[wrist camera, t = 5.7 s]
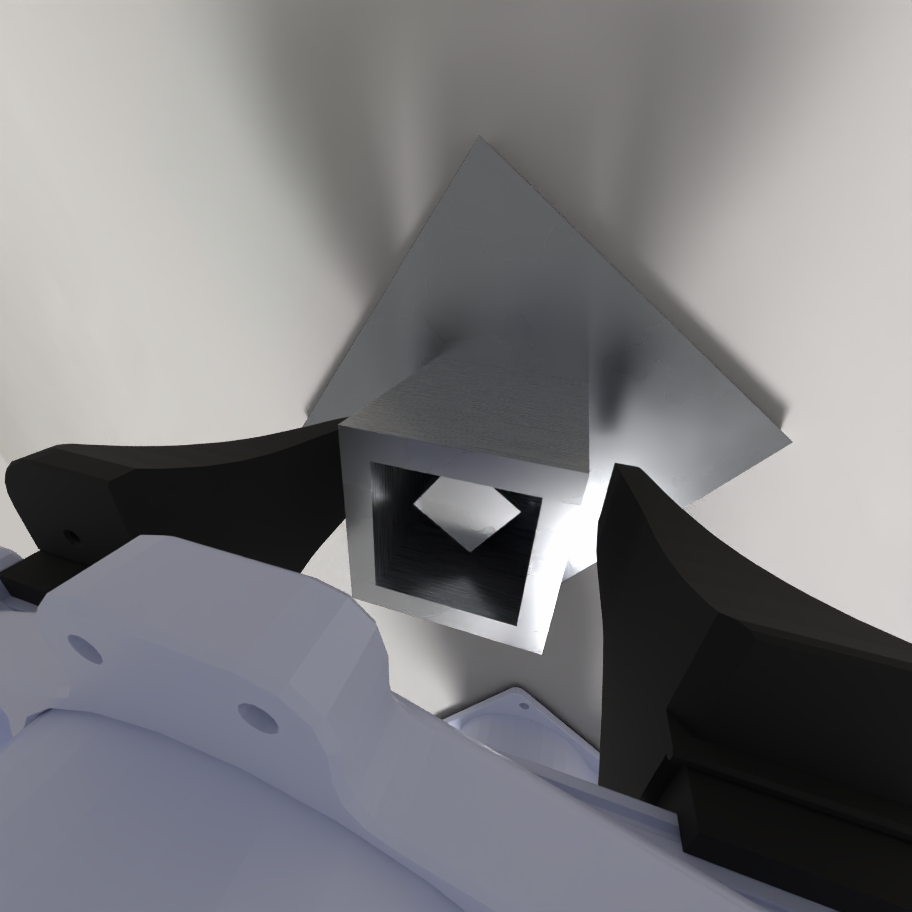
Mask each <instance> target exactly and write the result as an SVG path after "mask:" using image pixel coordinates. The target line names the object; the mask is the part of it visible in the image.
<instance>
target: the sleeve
mask: <svg viewBox="0 0 912 912" xmlns="http://www.w3.org/2000/svg"><path fill="white" fill-rule="evenodd" d="M338 433H339V445H340V457H341V468H342V480H343V492H344V504H345V516H346V528H347V539H348V551H349V563H350V575H351V587H352V598H355V599H359V600H362V601H365V602H369V603H372V604H375V605H379V606H382V607H385V608H389V609H392V610H395V611H398V612H402V613H405V614H408V615H412V616H415V617H418V618H422V619H425V620H428V621H431V622H435V623H438V624H441V625H445V626H448V627H451V628H455V629H458V630H461V631H465V632H468V633H471V634H474V635H478V636H481V637H484V638H488V639H491V640H494V641H498V642H501V643H504V644H508V645H511V646H514V647H517V648H521V649H524V650H527V651H531V652H534V653H537V654H541V655H542V653H543V649H544V645H545V641H546V637H547V633H548V630H549V626H550V622H551V618H552V614H553V611H554V607H555V603H556V599H557V595H558V592H559V588H560V584H561V580H562V576H563V573H564V569H565V565H566V561H567V557H568V554H569V550H570V546H571V542H572V538H573V535H574V531H575V527H576V523H577V519H578V516H579V512H580V508H581V504H582V500H583V497H584V493H585V489H586V485H587V481H588V478H589V474H590V469H589V381H587V380H580V379H573V378H566V377H559V376H552V375H545V374H538V373H531V372H524V371H517V370H510V369H503V368H496V367H489V366H482V365H475V364H468V363H461V362H454V361H447V360H440V359H434V360H432V361H431V362H429V363H428V364H427V365H425V366H424V367H422V368H421V369H419V370H418V371H416V372H415V373H413V374H412V375H410V376H409V377H407V378H406V379H404V380H403V381H401V382H400V383H399V384H397V385H396V386H394V387H393V388H391V389H390V390H388V391H387V392H385V393H384V394H382V395H381V396H379V397H378V398H376V399H375V400H374V401H372V402H371V403H369V404H368V405H366V406H365V407H363V408H362V409H360V410H359V411H357V412H356V413H354V414H353V415H351V416H350V417H348V418H347V419H346V420H344V421H343V422H341V423H340V424H338ZM433 475H437V476H442V477H447V478H451V479H456V480H461V481H465V482H470V483H475V484H479V485H484V486H489V487H493V488H498V489H503V490H508V491H512V492H517V493H522V494H526V495H525V498H524V502H523V506H522V510H521V512H520V513H519V514H518V515H517V516H515V517H514V518H513V519H511V520H510V521H509V522H508V523H506V524H505V525H504V526H503V527H501V528H500V529H499V530H498V531H496V532H495V533H494V534H492V535H491V536H490V537H489V538H487V539H486V540H485V541H484V542H482V543H481V544H480V545H479V546H477V547H476V548H475V549H474V550H472V551H471V552H469V551H468V550H467V549H465V548H464V547H463V546H462V545H461V544H460V543H458V542H457V541H456V540H455V539H454V538H453V537H451V536H450V535H449V534H448V533H447V532H446V531H444V530H443V529H442V528H441V527H440V526H439V525H437V524H436V523H435V522H434V521H433V520H432V519H430V518H429V517H428V516H427V515H426V514H425V513H423V512H422V511H421V510H420V509H419V508H417V507H416V506H415V505H414V502H415V501H416V500H417V498H418V497H419V495H420V494H421V492H422V491H423V490H424V488H425V487H426V485H427V484H428V482H429V481H430V480H431V478H432V477H433Z"/></svg>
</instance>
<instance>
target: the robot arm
mask: <svg viewBox="0 0 912 912" xmlns="http://www.w3.org/2000/svg"><path fill="white" fill-rule="evenodd" d="M347 418H348V417H344V418H339V419H335V420H330V421H326V422H322V423H318V424H314V425H310V426H306V427H302V428H298V429H293V430H289V431H284V432H280V433H275V434H271V435H266V436H261V437H255V438H249V439H242V440H235V441H228V442H218V443H206V444H194V445H180V446H108V445H84V444H62V445H56V446H53V447H50V448H47V449H44V450H42V451H39V452H36V453H34V454H31V455H28V456H26V457H23V458H20V459H17V460H15V461H12V462H11V463H10V465H9V466H8V468H7V470H6V474H5V484H6V488H7V492H8V494H9V497H10V499H11V501H12V503H13V505H14V507H15V509H16V510H17V512H18V514H19V516H20V517H21V519H22V521H23V523H24V524H25V526H26V528H27V530H28V531H29V533H30V535H31V537H32V538H33V540H34V542H35V544H36V545H37V547H38V549H40V551H38V552H36V553H34V554H32V555H30V556H29V557H27V558H25V559H22V558H21V557H20V556H19V555H18V554H17V553H15V552H14V551H12V550H10V549H7V548H4V547H1V546H0V912H912V644H911V643H909V642H907V641H904V640H902V639H900V638H898V637H896V636H893V635H891V634H889V633H887V632H884V631H882V630H880V629H878V628H875V627H873V626H871V625H869V624H866V623H864V622H862V621H860V620H857V619H855V618H853V617H851V616H849V615H847V614H845V613H843V612H841V611H839V610H837V609H835V608H833V607H831V606H829V605H827V604H825V603H824V602H822V601H820V600H818V599H816V598H814V597H812V596H810V595H808V594H806V593H804V592H803V591H801V590H799V589H797V588H795V587H793V586H792V585H790V584H788V583H786V582H784V581H783V580H781V579H779V578H778V577H776V576H774V575H773V574H771V573H769V572H768V571H766V570H765V569H763V568H761V567H760V566H758V565H756V564H755V563H753V562H752V561H750V560H748V559H747V558H745V557H744V556H742V555H741V554H739V553H738V552H737V551H735V550H734V549H732V548H731V547H730V546H728V545H727V544H725V543H724V542H723V541H721V540H720V539H718V538H717V537H716V536H714V535H713V534H712V533H710V532H709V531H708V530H707V529H705V528H704V527H703V526H702V525H701V524H699V523H698V522H697V521H696V520H695V519H694V518H692V517H691V516H690V515H689V514H688V513H687V512H685V511H684V510H683V509H682V508H681V507H680V506H679V505H678V504H677V503H676V502H675V501H674V500H673V499H672V498H670V497H669V496H668V495H667V494H666V493H665V492H664V491H663V490H662V489H661V488H660V487H659V486H658V485H657V484H656V483H655V482H654V481H653V480H652V479H651V478H650V477H649V476H648V475H647V474H646V473H645V472H644V471H643V470H642V469H641V468H640V467H637V466H631V465H626V464H620V463H615V464H614V467H613V471H612V474H611V478H610V481H609V485H608V488H607V492H606V495H605V499H604V502H603V506H602V509H601V513H600V516H599V519H598V524H597V541H596V558H597V569H598V580H599V590H600V600H601V610H602V620H603V686H602V717H601V738H600V753H599V752H598V751H597V750H596V749H594V748H593V747H592V746H591V745H590V744H588V743H587V742H586V741H585V740H584V739H582V738H581V737H580V736H579V735H578V734H576V733H575V732H574V731H573V730H571V729H570V728H569V727H568V726H567V725H565V724H564V723H563V722H562V721H561V720H559V719H558V718H557V717H556V716H555V715H553V714H552V713H551V712H550V711H548V710H547V709H546V708H545V707H544V706H542V705H541V704H540V703H539V702H538V701H536V700H535V699H534V698H533V697H532V696H530V695H529V694H528V693H527V692H525V691H524V690H523V689H521V688H518V687H513V688H510V689H508V690H506V691H504V692H502V693H499V694H497V695H495V696H493V697H491V698H488V699H486V700H484V701H482V702H480V703H478V704H475V705H473V706H471V707H469V708H467V709H465V710H462V711H460V712H458V713H456V714H454V715H452V716H449V717H447V718H445V719H443V720H441V719H440V718H438V717H436V716H434V715H433V714H431V713H429V712H428V711H426V710H424V709H422V708H421V707H419V706H417V705H416V704H414V703H412V702H410V701H409V700H407V699H405V698H404V697H402V696H400V695H398V694H397V693H395V692H393V691H391V690H390V685H389V663H388V654H387V651H386V649H385V646H384V643H383V641H382V638H381V635H380V632H379V630H378V627H377V625H376V622H375V620H374V619H373V618H372V617H371V616H370V615H369V614H368V613H367V612H366V611H365V610H364V609H363V608H362V607H361V606H360V605H359V604H358V603H357V602H356V601H355V600H354V599H353V598H352V597H351V596H350V595H349V594H347V593H345V592H343V591H341V590H339V589H337V588H335V587H333V586H331V585H329V584H327V583H325V582H323V581H321V580H319V579H317V578H314V577H311V576H307V575H304V574H300V573H301V572H302V570H303V569H304V567H305V566H306V564H307V563H308V562H309V560H310V559H311V557H312V556H313V555H314V554H315V552H316V551H317V550H318V549H319V547H320V546H321V545H322V544H323V543H324V542H325V541H326V539H327V538H328V537H329V536H330V535H331V534H332V533H333V532H334V530H335V529H336V528H337V527H338V526H339V525H340V524H341V523H342V522H343V520H344V519H345V518H346V516H345V504H344V492H343V480H342V468H341V457H340V445H339V433H338V424H340V423H341V422H343V421H344V420H346V419H347Z"/></svg>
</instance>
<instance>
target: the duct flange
mask: <svg viewBox="0 0 912 912" xmlns="http://www.w3.org/2000/svg"><path fill="white" fill-rule="evenodd" d="M434 359H440V360H447V361H454V362H461V363H468V364H475V365H482V366H489V367H496V368H503V369H510V370H517V371H524V372H531V373H538V374H545V375H552V376H559V377H566V378H573V379H580V380H587V381H589V469H590V474H589V478H588V481H587V485H586V489H585V493H584V497H583V500H582V504H581V508H580V512H579V516H578V519H577V523H576V527H575V531H574V535H573V538H572V542H571V546H570V550H569V554H568V557H567V561H566V565H565V569H564V573H563V576H562V580H561V583H562V582H563V581H565V580H567V579H568V578H570V577H572V576H573V575H575V574H577V573H578V572H580V571H581V570H583V569H585V568H586V567H588V566H590V565H591V564H593V563H595V562H596V561H597V558H596V541H597V524H598V519H599V516H600V513H601V509H602V506H603V502H604V499H605V495H606V492H607V488H608V485H609V481H610V478H611V474H612V471H613V467H614V464H615V463H620V464H626V465H631V466H637V467H640V468H641V469H642V470H643V471H644V472H645V473H646V474H647V475H648V476H649V477H650V478H651V479H652V480H653V481H654V482H655V483H656V484H657V485H658V486H659V487H660V488H661V489H662V490H663V491H664V492H665V493H666V494H667V495H668V496H669V497H670V498H672V499H673V500H674V501H675V502H676V503H677V504H678V505H679V506H680V507H681V508H682V509H684V508H685V507H687V506H689V505H690V504H692V503H693V502H695V501H697V500H698V499H700V498H702V497H703V496H705V495H707V494H708V493H710V492H712V491H713V490H715V489H717V488H718V487H720V486H721V485H723V484H725V483H726V482H728V481H730V480H731V479H733V478H735V477H736V476H738V475H740V474H741V473H743V472H745V471H746V470H748V469H749V468H751V467H753V466H754V465H756V464H758V463H759V462H761V461H763V460H764V459H766V458H768V457H769V456H771V455H773V454H774V453H776V452H777V451H779V450H781V449H782V448H784V447H786V446H787V445H789V444H791V443H792V441H791V440H790V439H789V438H788V437H787V436H786V435H785V434H784V433H783V432H782V431H781V430H780V429H779V428H778V427H777V426H776V425H775V424H774V423H773V422H772V421H771V420H770V419H769V418H768V417H767V416H766V415H765V414H764V413H763V412H762V411H761V410H760V409H758V408H757V407H756V406H755V405H754V404H753V403H752V402H751V401H750V400H749V399H748V398H747V397H746V396H745V395H744V394H743V393H742V392H741V391H740V390H739V389H738V388H737V387H736V386H735V385H734V384H733V383H732V382H731V381H730V380H729V379H728V378H727V377H726V376H725V375H724V374H723V373H722V372H721V371H720V370H719V369H718V368H717V367H716V366H715V365H714V364H713V363H711V362H710V361H709V360H708V359H707V358H706V357H705V356H704V355H703V354H702V353H701V352H700V351H699V350H698V349H697V348H696V347H695V346H694V345H693V344H692V343H691V342H690V341H689V340H688V339H687V338H686V337H685V336H684V335H683V334H682V333H681V332H680V331H679V330H678V329H677V328H676V327H675V326H674V325H673V324H672V323H671V322H670V321H669V320H668V319H667V318H666V317H664V316H663V315H662V314H661V313H660V312H659V311H658V310H657V309H656V308H655V307H654V306H653V305H652V304H651V303H650V302H649V301H648V300H647V299H646V298H645V297H644V296H643V295H642V294H641V293H640V292H639V291H638V290H637V289H636V288H635V287H634V286H633V285H632V284H631V283H630V282H629V281H628V280H627V279H626V278H625V277H624V276H623V275H622V274H621V273H620V272H618V271H617V270H616V269H615V268H614V267H613V266H612V265H611V264H610V263H609V262H608V261H607V260H606V259H605V258H604V257H603V256H602V255H601V254H600V253H599V252H598V251H597V250H596V249H595V248H594V247H593V246H592V245H591V244H590V243H589V242H588V241H587V240H586V239H585V238H584V237H583V236H582V235H581V234H580V233H579V232H578V231H577V230H576V229H575V228H574V227H573V226H571V225H570V224H569V223H568V222H567V221H566V220H565V219H564V218H563V217H562V216H561V215H560V214H559V213H558V212H557V211H556V210H555V209H554V208H553V207H552V206H551V205H550V204H549V203H548V202H547V201H546V200H545V199H544V198H543V197H542V196H541V195H540V194H539V193H538V192H537V191H536V190H535V189H534V188H533V187H532V186H531V185H530V184H529V183H528V182H527V181H526V180H524V179H523V178H522V177H521V176H520V175H519V174H518V173H517V172H516V171H515V170H514V169H513V168H512V167H511V166H510V165H509V164H508V163H507V162H506V161H505V160H504V159H503V158H502V157H501V156H500V155H499V154H498V153H497V152H496V151H495V150H494V149H493V148H492V147H491V146H490V145H489V144H488V143H487V142H486V141H485V140H484V139H483V138H482V137H481V136H479V137H478V139H477V141H476V142H475V144H474V146H473V147H472V149H471V150H470V152H469V154H468V155H467V157H466V159H465V160H464V162H463V164H462V165H461V167H460V169H459V170H458V172H457V174H456V175H455V177H454V178H453V180H452V182H451V183H450V185H449V187H448V188H447V190H446V192H445V193H444V195H443V197H442V198H441V200H440V201H439V203H438V205H437V206H436V208H435V210H434V211H433V213H432V215H431V216H430V218H429V220H428V221H427V223H426V225H425V226H424V228H423V229H422V231H421V233H420V234H419V236H418V238H417V239H416V241H415V243H414V244H413V246H412V248H411V249H410V251H409V252H408V254H407V256H406V257H405V259H404V261H403V262H402V264H401V266H400V267H399V269H398V271H397V272H396V274H395V276H394V277H393V279H392V280H391V282H390V284H389V285H388V287H387V289H386V290H385V292H384V294H383V295H382V297H381V299H380V300H379V302H378V303H377V305H376V307H375V308H374V310H373V312H372V313H371V315H370V317H369V318H368V320H367V322H366V323H365V325H364V326H363V328H362V330H361V331H360V333H359V335H358V336H357V338H356V340H355V341H354V343H353V345H352V346H351V348H350V350H349V351H348V353H347V354H346V356H345V358H344V359H343V361H342V363H341V364H340V366H339V368H338V369H337V371H336V373H335V374H334V376H333V377H332V379H331V381H330V382H329V384H328V386H327V387H326V389H325V391H324V392H323V394H322V396H321V397H320V399H319V401H318V402H317V404H316V405H315V407H314V409H313V410H312V412H311V414H310V415H309V417H308V419H307V420H306V422H305V424H304V425H303V427H306V426H310V425H314V424H318V423H322V422H326V421H330V420H335V419H339V418H344V417H350V416H351V415H353V414H354V413H356V412H357V411H359V410H360V409H362V408H363V407H365V406H366V405H368V404H369V403H371V402H372V401H374V400H375V399H376V398H378V397H379V396H381V395H382V394H384V393H385V392H387V391H388V390H390V389H391V388H393V387H394V386H396V385H397V384H399V383H400V382H401V381H403V380H404V379H406V378H407V377H409V376H410V375H412V374H413V373H415V372H416V371H418V370H419V369H421V368H422V367H424V366H425V365H427V364H428V363H429V362H431V361H432V360H434ZM525 495H526V494H522V493H517V492H512V491H508V490H503V489H498V488H493V487H489V486H484V485H479V484H475V483H470V482H465V481H461V480H456V479H451V478H447V477H442V476H437V475H433V477H432V478H431V480H430V481H429V482H428V484H427V485H426V487H425V488H424V490H423V491H422V492H421V494H420V495H419V497H418V498H417V500H416V501H415V502H414V505H415V506H416V507H417V508H419V509H420V510H421V511H422V512H423V513H425V514H426V515H427V516H428V517H429V518H430V519H432V520H433V521H434V522H435V523H436V524H437V525H439V526H440V527H441V528H442V529H443V530H444V531H446V532H447V533H448V534H449V535H450V536H451V537H453V538H454V539H455V540H456V541H457V542H458V543H460V544H461V545H462V546H463V547H464V548H465V549H467V550H468V551H469V552H471V551H472V550H474V549H475V548H476V547H477V546H479V545H480V544H481V543H482V542H484V541H485V540H486V539H487V538H489V537H490V536H491V535H492V534H494V533H495V532H496V531H498V530H499V529H500V528H501V527H503V526H504V525H505V524H506V523H508V522H509V521H510V520H511V519H513V518H514V517H515V516H517V515H518V514H519V513H520V512H521V510H522V506H523V502H524V498H525Z"/></svg>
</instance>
